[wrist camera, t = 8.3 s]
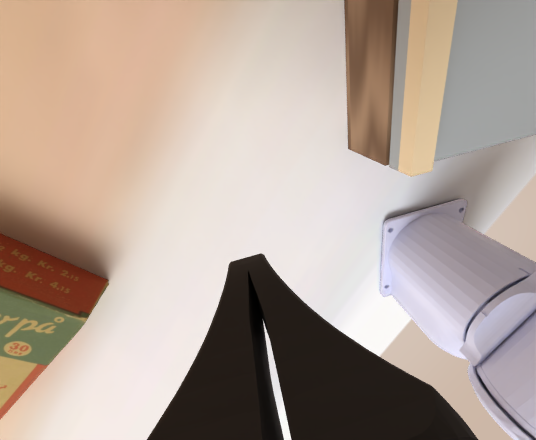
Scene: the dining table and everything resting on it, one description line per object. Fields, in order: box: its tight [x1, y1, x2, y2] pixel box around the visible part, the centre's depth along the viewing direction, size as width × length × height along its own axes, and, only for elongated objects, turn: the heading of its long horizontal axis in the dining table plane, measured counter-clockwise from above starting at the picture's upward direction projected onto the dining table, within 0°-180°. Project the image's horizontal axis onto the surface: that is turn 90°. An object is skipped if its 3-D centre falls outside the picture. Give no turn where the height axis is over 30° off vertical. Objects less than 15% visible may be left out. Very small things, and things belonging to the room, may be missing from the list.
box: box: [345, 0, 399, 166], centre depth 14 cm, size 14×12×4 cm
